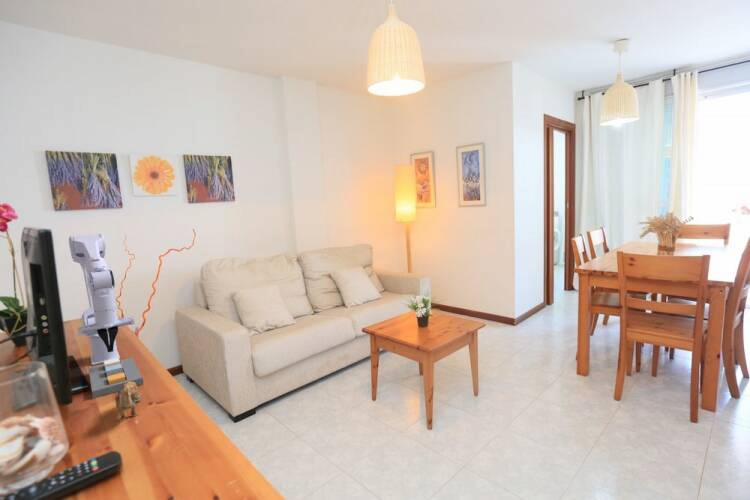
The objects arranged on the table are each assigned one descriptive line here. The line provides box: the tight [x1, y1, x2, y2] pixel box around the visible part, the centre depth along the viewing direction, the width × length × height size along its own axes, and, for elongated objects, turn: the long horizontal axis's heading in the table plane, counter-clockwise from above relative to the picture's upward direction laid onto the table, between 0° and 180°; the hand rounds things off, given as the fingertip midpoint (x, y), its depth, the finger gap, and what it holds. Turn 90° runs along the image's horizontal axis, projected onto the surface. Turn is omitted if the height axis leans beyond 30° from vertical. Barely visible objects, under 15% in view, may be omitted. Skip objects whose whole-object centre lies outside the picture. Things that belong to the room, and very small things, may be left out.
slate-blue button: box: [105, 364, 123, 376], centre depth 118 cm, size 4×4×2 cm
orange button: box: [107, 372, 126, 385], centre depth 113 cm, size 4×4×2 cm
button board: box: [88, 356, 144, 399], centre depth 118 cm, size 21×12×2 cm, turn 39°
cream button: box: [103, 358, 120, 370], centre depth 123 cm, size 4×4×2 cm
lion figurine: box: [115, 381, 142, 422], centre depth 98 cm, size 15×5×9 cm, turn 35°
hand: (110, 351), depth 122 cm, fingers closed
